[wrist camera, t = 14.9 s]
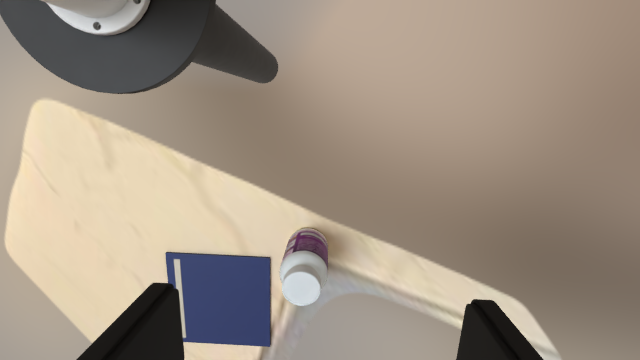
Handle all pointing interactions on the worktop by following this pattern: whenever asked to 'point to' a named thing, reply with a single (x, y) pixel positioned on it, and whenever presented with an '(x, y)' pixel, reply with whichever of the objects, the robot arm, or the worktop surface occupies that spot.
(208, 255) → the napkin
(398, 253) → the worktop surface
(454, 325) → the worktop surface
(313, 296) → the pill bottle
